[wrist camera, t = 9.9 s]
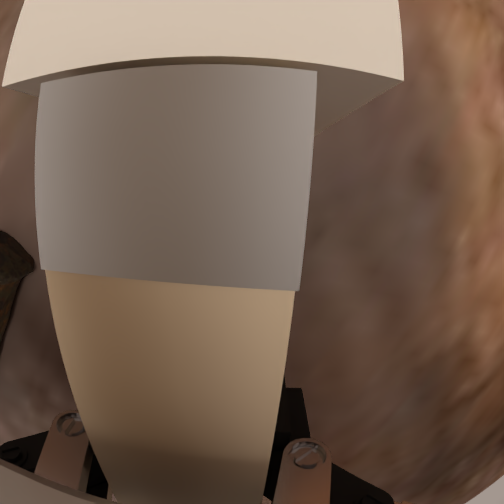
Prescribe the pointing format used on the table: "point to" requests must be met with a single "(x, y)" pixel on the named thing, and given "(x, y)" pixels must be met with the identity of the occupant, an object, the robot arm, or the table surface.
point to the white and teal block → (215, 42)
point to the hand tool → (11, 274)
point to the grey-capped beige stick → (176, 265)
